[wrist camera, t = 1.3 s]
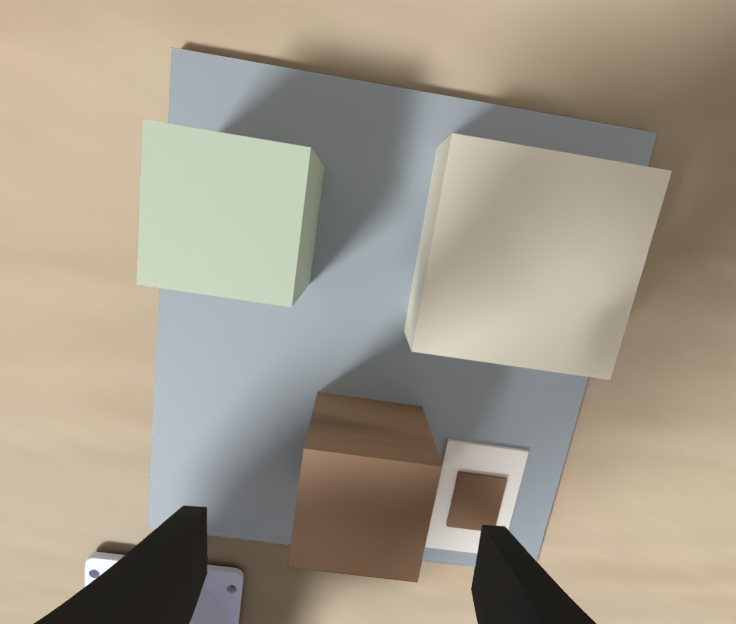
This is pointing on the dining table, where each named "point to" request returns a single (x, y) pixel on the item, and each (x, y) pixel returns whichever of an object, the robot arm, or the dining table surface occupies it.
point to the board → (353, 317)
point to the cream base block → (531, 256)
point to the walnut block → (365, 489)
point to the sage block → (227, 214)
